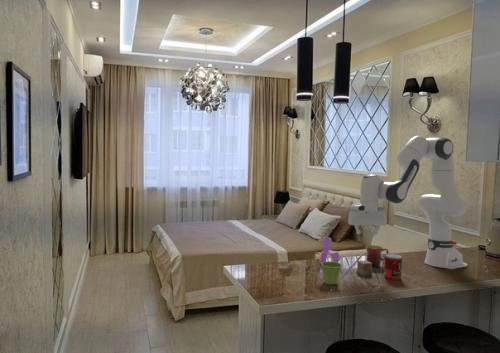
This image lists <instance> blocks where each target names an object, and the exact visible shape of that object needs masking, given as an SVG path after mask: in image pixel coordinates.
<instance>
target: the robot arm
mask: <svg viewBox="0 0 500 353" xmlns="http://www.w3.org/2000/svg"><path fill="white" fill-rule="evenodd" d="M453 152H454V144H453V142H452V141H451V139H449V138H447V137H427V138H425V137H424V136H421V135H415V136H413V137H412V138H410V139H409V140H408V141H407V142H406V143H405V144H404V145H403V147H402V148H401V149H400V150H399V152H398V154H397V155H396V161H397V163H398V165H399V166H400V167H401V168H402V169H403V171H402V174H401V175H400V177H399V179H398V180H397V181H393V182H392V181H391V182H390V181H385V180H383V179H382V178H380V176H379V175H378V174H374V173H373V174H365V175H364V176H363V177H362V179H361V181H360V198H359V201H358V202H356V203H353V204H351V205H350V208H349V209H350V211H349V212H348V217H347V218H348V219H347V222H348V224H349V225H350V226H354V229H355V230H356V234H357V235H361V234H362V230H360V226H374V227H375V229H374V230H372V233H373V235H378V233H379V229H380V228H381V226H386V225H387V223H388V216H387V212H388V210H387V208H386V207H385V206H379V201H384V202H390V203H393V204H400V203H403V201H405V199H406V197H407V196H408V191H409V190H410V187H411V185H412V184H413V182H414V180H415V178H416V176H417V174H418V173H419V170H420V167H421V166H420V163H421V160H422V159H423V158H425V159H431V161H432V162H431V168H430V169H431V174H430V175H431V180H430V182H431V185H432V187H434V188H436V189H437V190H438V191H439V194H438V193H426V194H423V195H421V196H420V197H419V199H418V207H419V209H420V211H422V212H423V213H424V215H425V217H426V219H427V222H428V228H429V229H428V233H429V234H428V239H427V252H426V255H425V258H424V259H425V260H424V264H426V265H428V266H432V267H437V268H444V269H449V270H455V269H460V268H465V267H466V268H467V267H468V263H466V262H464V261H463V257H464V256H463V255H462V253H461V252H459V251H458V249H456V248H455V247H454V246H456V245H457V244H458V242H457V241H456V240H452V225H451V224H450V223H449V222H448V221H446V220H445V218H444V216H449V217H461V216H463V215H465V213H466V212H467V209H468V204H467V201H466V200H465V199H464V198H463V197H462V196H461V195H460V193H458V191H457V188H456V185H455V176H454V175H455V173H454V172H455V171H454V169H455V166H454V165H455V164H454V157H453Z"/></svg>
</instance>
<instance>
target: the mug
mask: <svg viewBox="0 0 500 353" xmlns="http://www.w3.org/2000/svg"><path fill="white" fill-rule="evenodd" d="M365 250H366V258H365V259H366V260H365V261H368V262H371V263H372V268H378V267H380V266H381V263H382V261H385V256H384V257H382V252H384V251H386V254H390V253H389V250H388V249H387V248H383V246H380V245H374V244H373V245H371V244H369V245H366V246H365Z"/></svg>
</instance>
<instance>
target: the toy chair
mask: <svg viewBox="0 0 500 353" xmlns="http://www.w3.org/2000/svg"><path fill="white" fill-rule="evenodd" d="M321 244H322V246H323V250H322V251H321V253H320V261H319V262H318V265H321V263H322V262H327V259H328V258H327V257H328V255H329V256H330V257H331V259H332V262H337V263H339V258H340V253H339V251H336V250H332V249H330V247H332V245H333V240H332V237H330V236H324V237H323V238H322V241H321Z"/></svg>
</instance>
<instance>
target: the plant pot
mask: <svg viewBox="0 0 500 353" xmlns="http://www.w3.org/2000/svg"><path fill="white" fill-rule="evenodd" d="M320 265H321V268H322V274H323V276H322V277H323V282H324V284H326V285H337V284H339V282H338V281H339V276H340V273H341V269H342V266H343V264H341V263H339V262H338V263H337V262H333V261H326V262H322V263H321V264H320Z"/></svg>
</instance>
